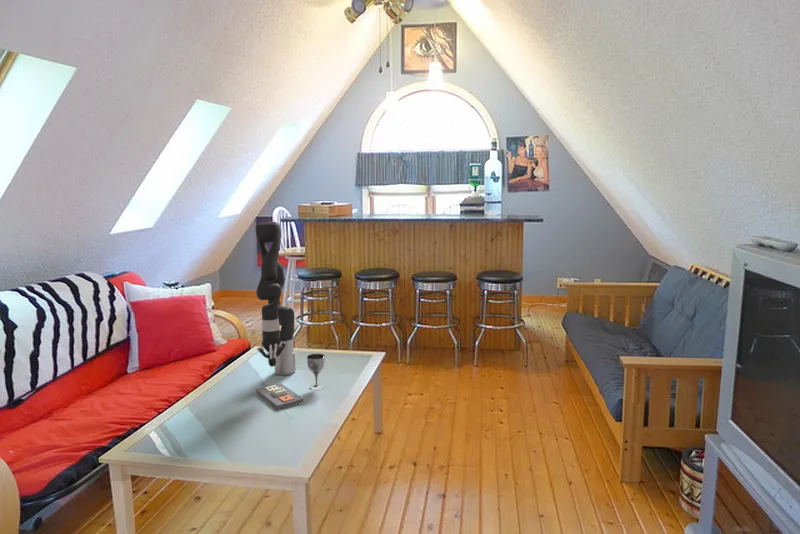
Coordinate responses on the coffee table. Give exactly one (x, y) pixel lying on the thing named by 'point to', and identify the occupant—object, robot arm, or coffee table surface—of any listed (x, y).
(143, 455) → the coffee table surface
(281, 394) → the sage button
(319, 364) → the wine glass
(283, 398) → the terracotta button
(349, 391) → the coffee table surface
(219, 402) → the coffee table surface
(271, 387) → the cream button
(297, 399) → the button board
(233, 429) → the coffee table surface
